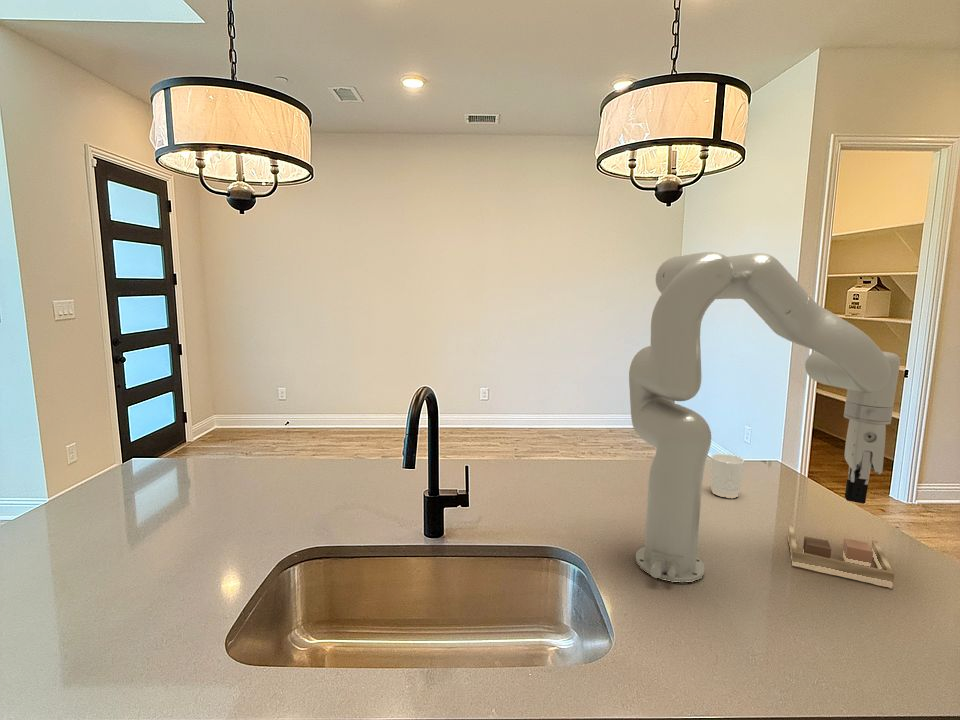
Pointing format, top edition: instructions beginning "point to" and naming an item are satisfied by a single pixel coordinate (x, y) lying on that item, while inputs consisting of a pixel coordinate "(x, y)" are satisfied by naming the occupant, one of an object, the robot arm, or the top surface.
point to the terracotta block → (857, 550)
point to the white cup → (726, 473)
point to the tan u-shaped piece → (848, 567)
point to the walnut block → (817, 547)
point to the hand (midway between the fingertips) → (854, 500)
